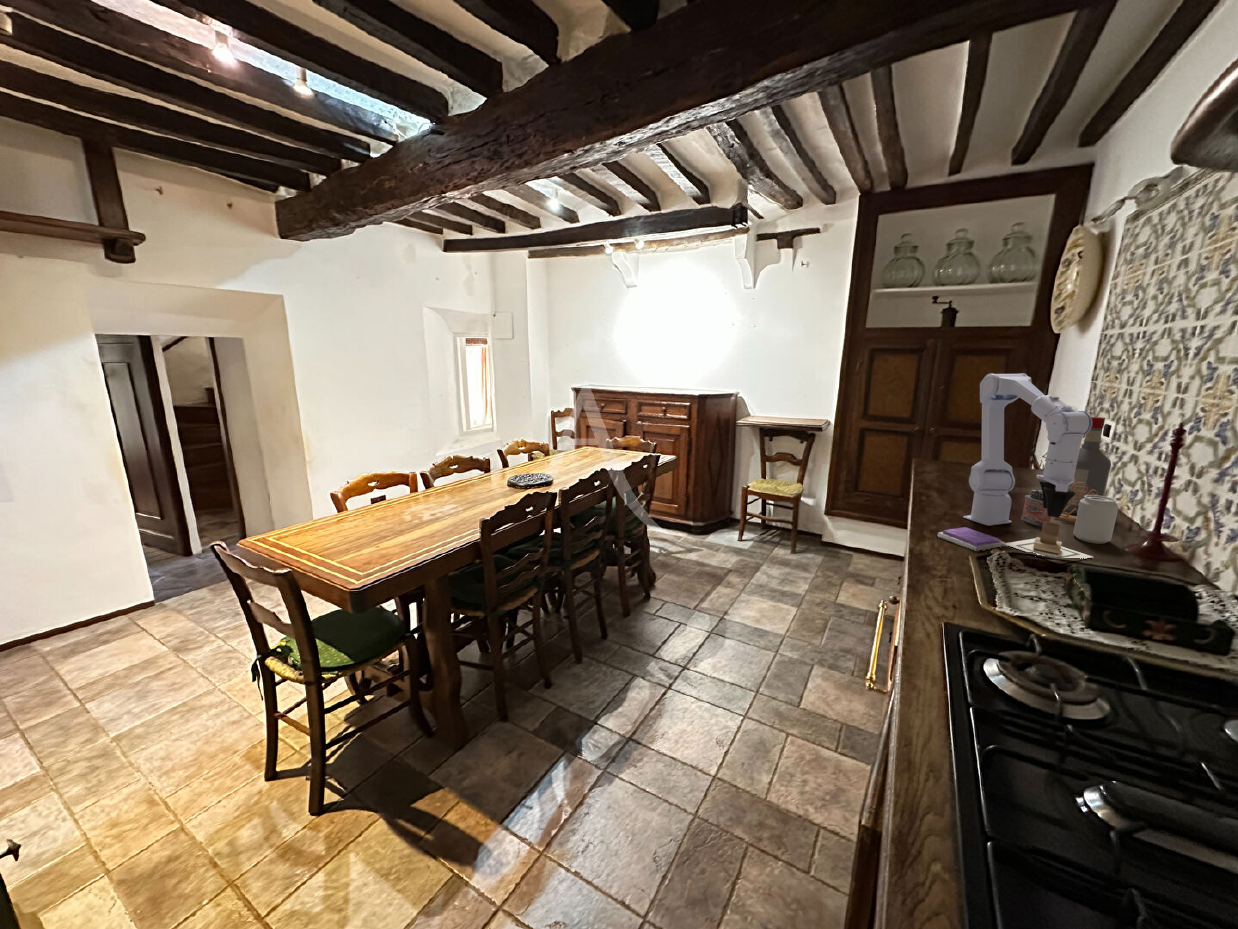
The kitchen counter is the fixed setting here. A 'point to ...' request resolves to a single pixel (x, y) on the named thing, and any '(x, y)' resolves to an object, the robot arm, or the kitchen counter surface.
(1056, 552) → the stamp
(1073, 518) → the gingerbread man figurine
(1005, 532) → the kitchen counter surface
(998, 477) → the robot arm
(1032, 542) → the marked card
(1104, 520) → the can
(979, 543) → the ink pad
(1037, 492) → the lighter
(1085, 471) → the liquor
